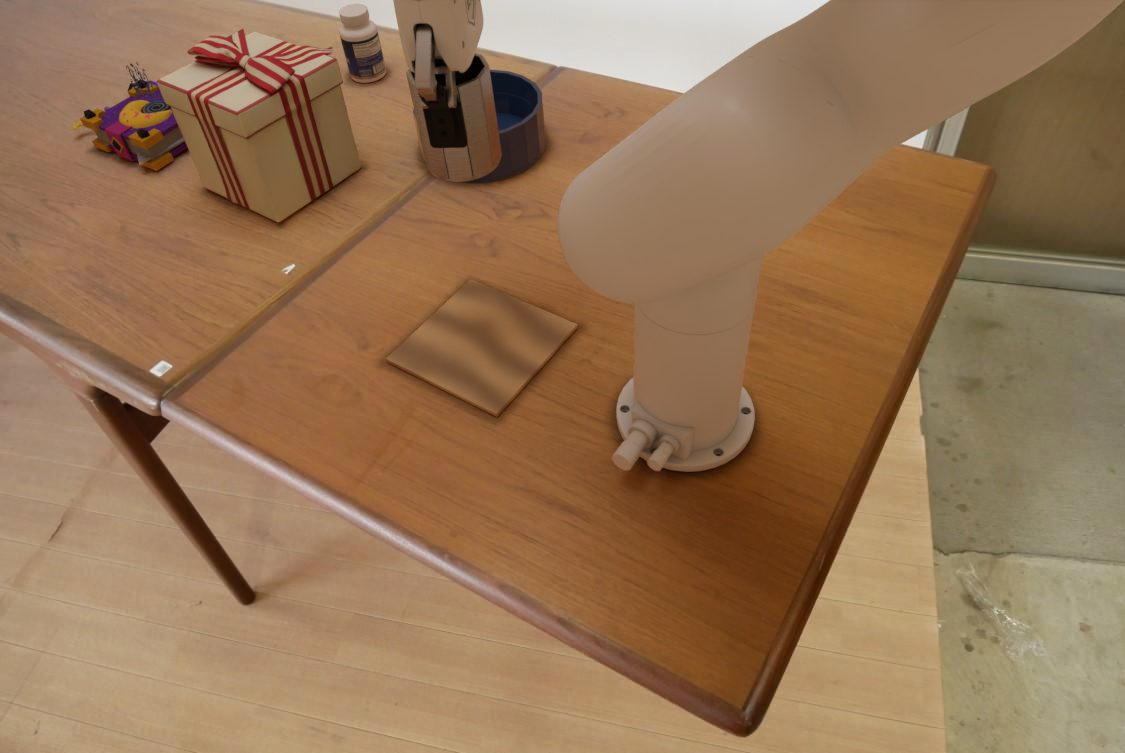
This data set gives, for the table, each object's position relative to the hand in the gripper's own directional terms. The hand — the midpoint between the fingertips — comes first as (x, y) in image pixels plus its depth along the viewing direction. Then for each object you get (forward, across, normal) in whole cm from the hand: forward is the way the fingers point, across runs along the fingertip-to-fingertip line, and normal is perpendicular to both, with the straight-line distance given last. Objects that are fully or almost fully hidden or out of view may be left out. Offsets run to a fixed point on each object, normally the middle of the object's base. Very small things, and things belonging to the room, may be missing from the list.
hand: (457, 120), depth 75 cm
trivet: (+21, -7, 0) cm, 22 cm away
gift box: (+21, +24, +30) cm, 43 cm away
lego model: (+20, +31, +50) cm, 62 cm away
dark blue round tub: (+21, +29, +5) cm, 36 cm away
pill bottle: (+20, +48, +25) cm, 58 cm away
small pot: (+4, 0, 0) cm, 4 cm away
